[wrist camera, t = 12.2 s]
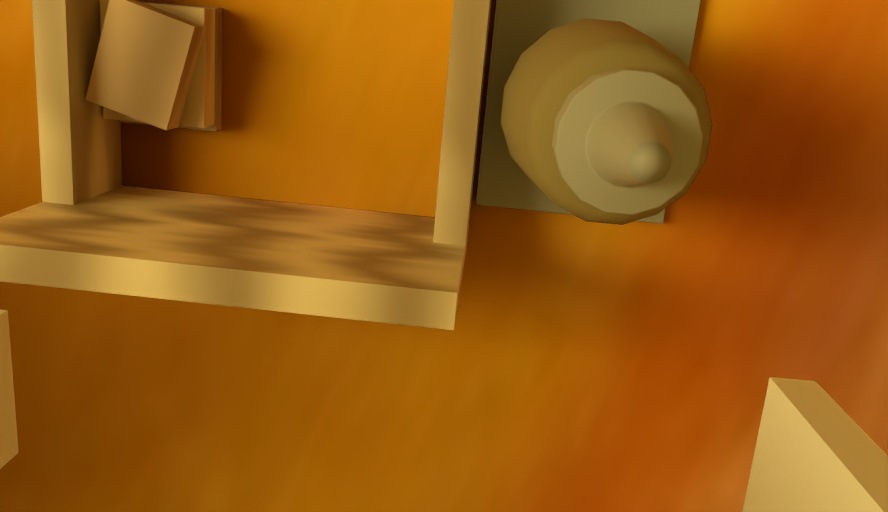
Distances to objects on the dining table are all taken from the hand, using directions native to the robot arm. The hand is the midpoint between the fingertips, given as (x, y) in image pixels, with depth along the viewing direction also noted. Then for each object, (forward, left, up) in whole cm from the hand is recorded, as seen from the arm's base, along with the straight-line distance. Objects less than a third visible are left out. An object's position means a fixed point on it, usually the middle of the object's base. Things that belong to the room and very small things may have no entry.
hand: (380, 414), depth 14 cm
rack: (-9, +4, -28) cm, 30 cm away
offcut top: (-15, +4, -26) cm, 30 cm away
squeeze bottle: (+6, +4, -28) cm, 28 cm away
